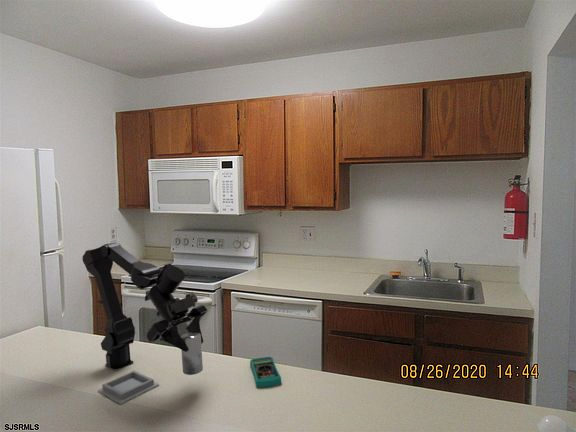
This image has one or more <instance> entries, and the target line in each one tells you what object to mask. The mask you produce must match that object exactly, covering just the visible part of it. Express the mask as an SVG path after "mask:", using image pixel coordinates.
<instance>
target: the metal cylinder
mask: <svg viewBox="0 0 576 432" xmlns="http://www.w3.org/2000/svg"><path fill="white" fill-rule="evenodd" d="M201 334H202V333H201ZM201 334H200V333H197V332H190V333H189V332H187V333H183V334H181V335H180V336H181V338H182V339H183V341H184V342H185V344H186V346H187V348H188V351H187V352H185V351H183V350H181V349H180V350H181V363H182V364H181V365H182V373H183V374H184V375H186V376H187V375H188V376H192V375H197V374H199V373H200V374H201V372H202V371H203V370H204V369H203V368H204V366H203V352H202V351H203V350H202V348H203V347H202V344H201Z"/></svg>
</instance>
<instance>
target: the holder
mask: <svg viewBox="0 0 576 432" xmlns="http://www.w3.org/2000/svg"><path fill="white" fill-rule="evenodd" d="M154 379H155V378H154ZM154 379H153V378H152V377H149V376H148V375H144V374H143V373H140V372H138V371H136V370H133V371H130V372H127V373H124V374H123V375H120V376H118V377H116V378H115V379H112V380H110V381H107V382H105V383H102V387H101V388H99V389H97V392H98V391H99V392H100V394H101V393H102V394H101V395H103V394H104V395H103V396H105V395H106V396H107V398H108V397H109V399H110V398H111V400H112V401H113V402H116V403H117V404H119V405H123V404H125V403H127V402H129V401H131V400H134V399H135V398H136V396H137V397H138V395H139V396H141V395H143V394H145V393H147V392H149V391H151V390H153V389H155V388H157V387H159V386H160V384H159V383H157V382H156V381H154ZM99 392H98V393H99ZM106 396H105V397H106ZM130 399H131V400H130Z"/></svg>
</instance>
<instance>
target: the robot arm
mask: <svg viewBox="0 0 576 432" xmlns="http://www.w3.org/2000/svg"><path fill="white" fill-rule="evenodd" d="M82 262H83V265H84V266H85V268H86V271H87V273H89V274H90V275H92V276H93V277H94V279H95V282H96V285H97V290H98V293H99V296H100V299H101V302H102V305H103V309H104V313H105V316H106V319H107V321H106V322H105V326H104V327H105V328H104V332H105V334H104V335H105V336H104V338H103V339H102V340H101V342H100V347H101V350H102V351H105V352H106V353H105V362H106V363H105V364H104V365H105V366H106V367H107V368H110V369H111V370H114V371H118V370H120V369H122V368H125V367H127V366H129V365H131V364H134V360H132V359H131V350H130V345H131V344H134V342H135V335H136V330H135V329H136V327H135V325H134V322H133V318H132V317H127V316H126V314H124V312H123V308H122V305H121V302H120V298H119V296H118V292H117V289H116V286H115V282H114V279H113V276H112V272H111V271H112V268H113V266H114V263H115V264H116V265H117V266H118V267H120V268H121V269H123V270H124V271H125V272H126V273H128V274H129V275H130V281H131V282H132V283H133V284H134V285H135V286H136V288H137V289H139V290H144V289H147V288H150V289H149V290H147V291H145V296H144V301H145V302H148V301H150V302H152V304H153V305H154V307H155V309H156V310H157V313H156V316H157V317H160V316H161V318H162V319H161V320H159V321H157V322H155V323H153V324H152V325H151V327H150V328H149V329H148V331H147V332H146V339H147V340H148V341H149V342H148V343H153V342H157V341H158V340H159V341H160V342H165V343H166V344H170V345H172V346H174V347H176V348H177V349H180V350H183V351H185V352H187V351H188V348H187V346H186V344H185V342H184V341H183V339H182V338H181V336H182V335H181V334H180V333H179V330H178V326H181V325H184V324H186V325H187V326H186V328H185V330H186V331H187V333H190V332H197V333H200V334H201V345H203V343H204V337H203V335H202V330H201V324H200V323H201V322H200V321H201V320H202V319H203V317H204V316H205V315H206V314H207V312H208V311H209V310H208V309H207V308H206V306H205V305H203V304H200V305H197V306H196V303H198V302H199V300H198V299H199V298H198V297H197V294H195V293H194V292H193V291H191V292H190V293H187V294H186V295H185V297H184V298H181V299H180V298H179V297H176V298H175V297H174V295H173V293H175V292H176V290H177V289H178V288H179V287H180V285H181V284H182V283H183V282H184V279H185V277H186V275H185V272H184V271H183V269H180V268H179V267H177V266H175V265H172V263H165V264H164V265H163V267H162V269H160V268H159V266H157V265H155V264H152V263H148V262H144V261H141V260H140V259H138V258H137V257H136V256H135V255H133V254H131V253H130V252H129V251H128V250H126V249H125V248H124V247H122V245H121V244H120V243H119V242H116V241H115V242H111V243H105V244H103V245H101V246H100V247H97V248H91V249H88V250H85V252H84V253H83V255H82ZM191 308H192V309H191ZM160 337H161V338H160Z"/></svg>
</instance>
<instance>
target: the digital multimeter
mask: <svg viewBox="0 0 576 432" xmlns="http://www.w3.org/2000/svg"><path fill="white" fill-rule="evenodd" d="M249 364H250V368H251V371H252V374H253V377H254V382H255V387H256V388H269V387H274V386H279V385H281V384H282V376H281V374H280V372H279V371H278V369H277V367H276V363H275V361H274V358H273V357H272V356H263V357H258V358H257V357H256V358H252V359H250V360H249Z"/></svg>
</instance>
